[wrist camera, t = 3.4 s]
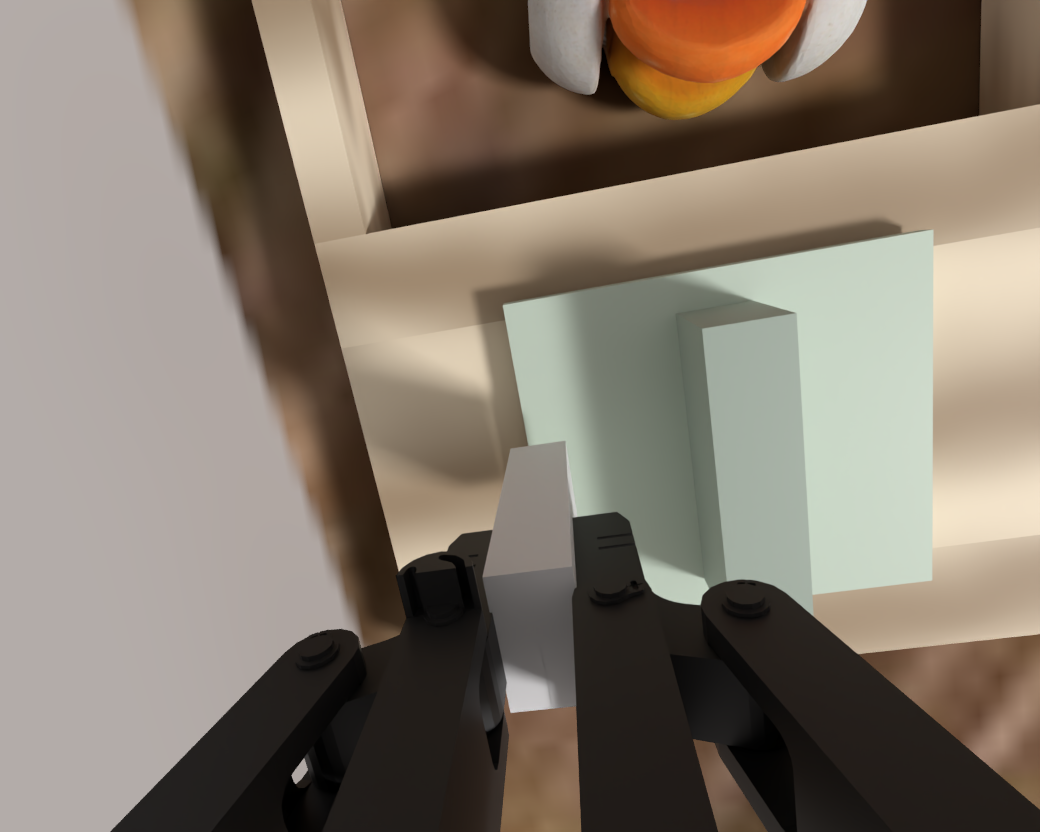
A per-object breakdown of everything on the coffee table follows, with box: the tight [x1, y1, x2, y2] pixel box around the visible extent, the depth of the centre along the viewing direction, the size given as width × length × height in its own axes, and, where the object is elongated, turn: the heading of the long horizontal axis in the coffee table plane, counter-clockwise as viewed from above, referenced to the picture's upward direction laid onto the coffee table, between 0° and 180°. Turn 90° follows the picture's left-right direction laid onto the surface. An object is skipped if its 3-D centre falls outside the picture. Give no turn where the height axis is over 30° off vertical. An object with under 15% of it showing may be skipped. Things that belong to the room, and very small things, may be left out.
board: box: [252, 0, 1040, 654], centre depth 17 cm, size 30×27×3 cm
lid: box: [503, 229, 933, 616], centre depth 16 cm, size 10×11×4 cm
